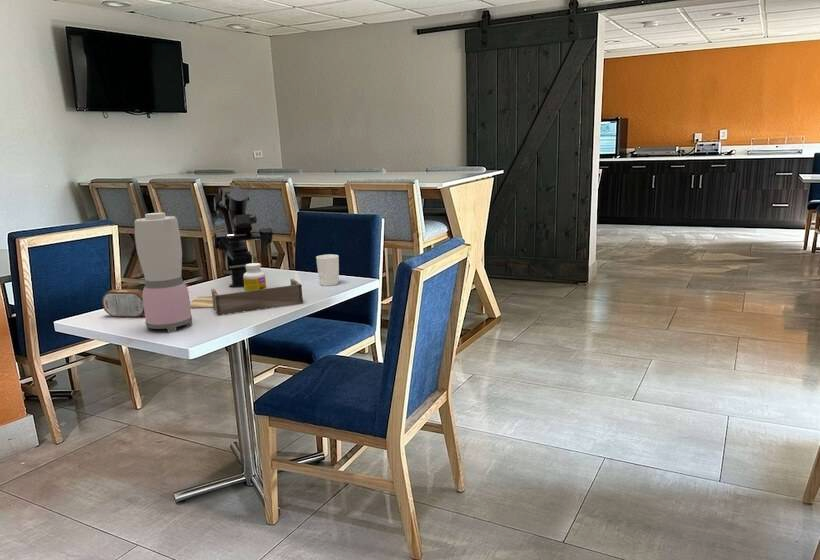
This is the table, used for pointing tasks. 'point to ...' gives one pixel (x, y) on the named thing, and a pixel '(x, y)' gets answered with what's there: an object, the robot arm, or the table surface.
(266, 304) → the cubby
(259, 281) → the supplement bottle
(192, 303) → the coaster
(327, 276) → the white cup
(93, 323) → the table surface
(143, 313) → the tin
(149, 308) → the blender
